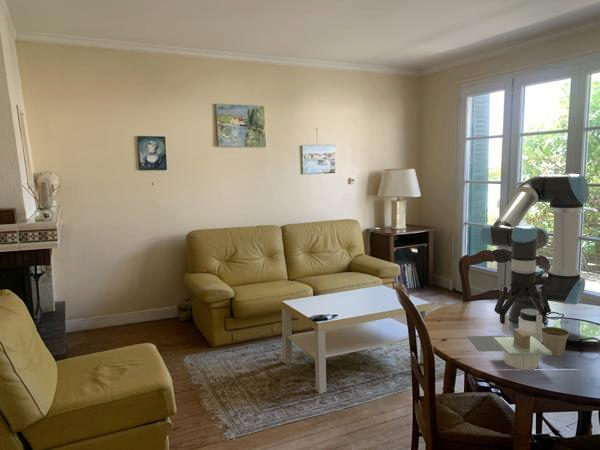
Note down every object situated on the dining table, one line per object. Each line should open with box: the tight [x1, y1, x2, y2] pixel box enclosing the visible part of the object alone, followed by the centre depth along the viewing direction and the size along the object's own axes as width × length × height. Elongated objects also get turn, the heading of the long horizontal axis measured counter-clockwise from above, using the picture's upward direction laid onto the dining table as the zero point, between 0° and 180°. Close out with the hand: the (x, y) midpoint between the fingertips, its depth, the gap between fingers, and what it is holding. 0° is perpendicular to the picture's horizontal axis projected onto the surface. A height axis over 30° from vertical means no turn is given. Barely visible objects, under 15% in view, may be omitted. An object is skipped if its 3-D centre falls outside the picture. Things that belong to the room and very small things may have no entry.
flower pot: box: [541, 326, 570, 357], centre depth 163 cm, size 9×9×9 cm
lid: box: [494, 328, 553, 357], centre depth 155 cm, size 14×14×6 cm
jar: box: [518, 309, 545, 344], centre depth 174 cm, size 9×8×12 cm
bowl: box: [502, 351, 540, 372], centre depth 156 cm, size 11×11×6 cm
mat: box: [466, 335, 506, 352], centre depth 173 cm, size 15×15×1 cm
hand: (521, 332), depth 155 cm, fingers open, 11 cm apart
